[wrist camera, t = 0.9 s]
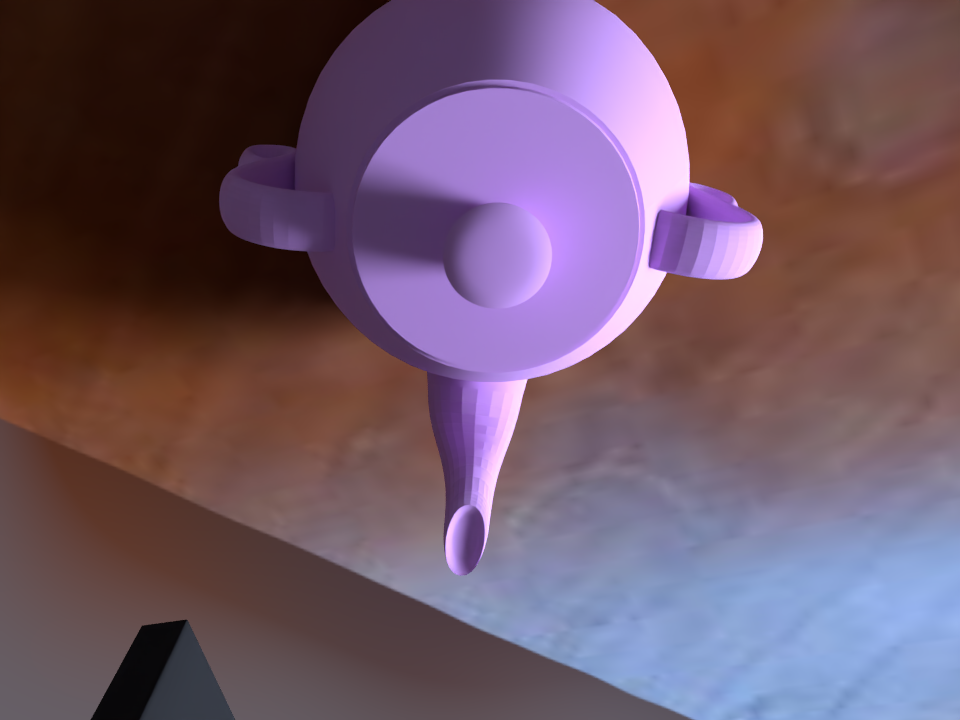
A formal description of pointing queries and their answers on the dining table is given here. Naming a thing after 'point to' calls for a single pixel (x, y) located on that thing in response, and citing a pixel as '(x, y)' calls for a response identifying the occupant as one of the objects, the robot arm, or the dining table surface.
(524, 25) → the teapot
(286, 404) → the dining table surface
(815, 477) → the dining table surface
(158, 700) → the robot arm
